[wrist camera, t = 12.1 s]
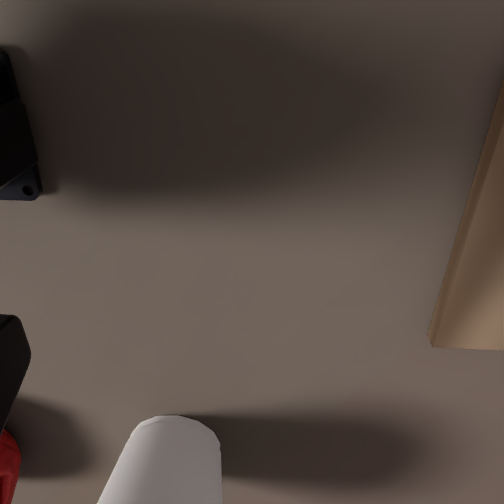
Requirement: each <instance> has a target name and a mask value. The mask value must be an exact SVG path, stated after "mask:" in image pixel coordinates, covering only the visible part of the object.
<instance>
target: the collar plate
mask: <svg viewBox="0 0 504 504" xmlns="http://www.w3.org/2000/svg"><path fill="white" fill-rule="evenodd" d="M427 336H428V338H429V340H430V342H431V344H432V347H437V348H462V349H487V350H504V79H503V82H502V86H501V89H500V92H499V96H498V99H497V102H496V106H495V109H494V112H493V116H492V119H491V122H490V126H489V129H488V133H487V136H486V139H485V143H484V146H483V149H482V153H481V156H480V159H479V163H478V166H477V169H476V173H475V176H474V179H473V183H472V186H471V189H470V193H469V196H468V199H467V203H466V206H465V210H464V213H463V216H462V220H461V223H460V226H459V230H458V233H457V236H456V240H455V243H454V246H453V250H452V253H451V256H450V260H449V263H448V266H447V270H446V273H445V276H444V280H443V283H442V287H441V290H440V293H439V297H438V300H437V303H436V307H435V310H434V313H433V317H432V320H431V323H430V327H429V330H428V333H427Z"/></svg>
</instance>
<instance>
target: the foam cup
mask: <svg viewBox="0 0 504 504" xmlns="http://www.w3.org/2000/svg"><path fill="white" fill-rule="evenodd" d="M97 504H222V477H221V452H220V442H219V440H218V439H217V437H216V435H215V433H214V432H213V431H212V430H211V429H209V428H208V427H206V426H205V425H203V424H202V423H200V422H199V421H197V420H193V419H189V418H186V417H182V416H179V415H169V416H155V417H153V418H150V419H147V420H145V421H142V422H140V423H139V425H138V426H137V427H136V428H135V429H134V431H133V432H132V433H131V436H130V438H129V440H128V441H127V443H126V445H125V447H124V449H123V451H122V453H121V455H120V457H119V459H118V462H117V464H116V466H115V468H114V470H113V472H112V474H111V476H110V478H109V480H108V482H107V484H106V486H105V488H104V490H103V493H102V495H101V497H100V499H99V501H98V503H97Z"/></svg>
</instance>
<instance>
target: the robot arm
mask: <svg viewBox="0 0 504 504" xmlns="http://www.w3.org/2000/svg"><path fill="white" fill-rule="evenodd" d="M37 161H38V156H37V152H36V148H35V144H34V141H33V137H32V133H31V129H30V125H29V121H28V117H27V113H26V109H25V105H24V104H23V103H22V102H21V101H20V97H19V93H18V89H17V85H16V81H15V77H14V73H13V69H12V66H11V62H10V59H9V56H8V54H7V53H6V52H5V51H4V50H3V49H1V48H0V200H23V201H32V200H35V199H37V198H38V197H39V196H40V195H41V194H42V192H43V188H42V184H41V180H40V176H39V172H38V168H37V164H36V162H37ZM27 186H30V187H31V188H32V189H33V192H30V191H29V190H28V189H27ZM30 359H31V350H30V346H29V343H28V340H27V337H26V334H25V331H24V328H23V325H22V323H21V320H20V319H19V318H18V317H17V316H15V315H5V314H0V436H1V434H2V432H3V429H4V427H5V424H6V421H7V419H8V416H9V414H10V411H11V409H12V406H13V404H14V401H15V399H16V396H17V394H18V391H19V389H20V386H21V384H22V381H23V379H24V376H25V374H26V371H27V369H28V366H29V363H30Z"/></svg>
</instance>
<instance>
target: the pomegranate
mask: <svg viewBox="0 0 504 504" xmlns="http://www.w3.org/2000/svg"><path fill="white" fill-rule="evenodd" d="M20 463H21V454H20V450H19V448H18V445H17V443H16V441H15V440H14V438H13V437H12V436H11V434H10V433H8V432H7V431H6V430H4V429H3V432H2V434H1V436H0V504H11V501H12V498H13V494H14V490H15V487H16V483H17V480H18V477H19V468H20Z"/></svg>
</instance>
